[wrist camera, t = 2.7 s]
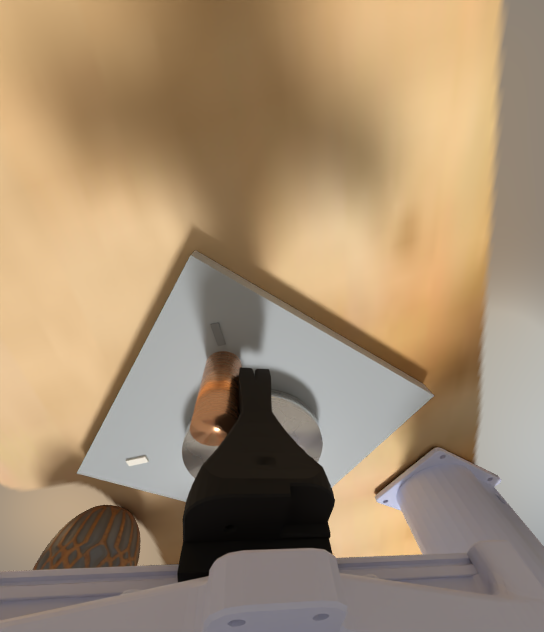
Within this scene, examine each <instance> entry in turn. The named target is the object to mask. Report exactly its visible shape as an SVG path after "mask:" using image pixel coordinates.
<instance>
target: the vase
mask: <svg viewBox="0 0 544 632" xmlns="http://www.w3.org/2000/svg"><path fill="white" fill-rule="evenodd" d="M139 553H140V532H139V528H138V525H137V523H136V520H135V518H134V517H133V515H132V514H131V513H130V512H129V511H128V510H126V509H124V508H121V507H118V506H113V505H101V506H96V507H93V508H91V509H89V510H87V511H85V512H83V513H81V514H79V515H78V516H76V517H75V518H74V519H72V520H71V521H70V522H68V523H67V524H66V525H65V526H64V527H63V528H62V529H61V530H60V531H59V532H58V534H57V535H56V536H55V537H54V538H53V539H52V540H51V542H50V543H49V544H48V545H47V547H46V548H45V550H44V551H43V553H42V555H41V556H40V558H39V559H38V561H37V563H36V564H35V566H34V568H33V570H49V569H74V568H99V567H124V566H137V563H138V559H139Z"/></svg>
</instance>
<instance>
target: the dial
mask: <svg viewBox="0 0 544 632" xmlns="http://www.w3.org/2000/svg"><path fill="white" fill-rule="evenodd" d="M240 368H242V365H241V361H240V359H239V358H238V357H237V356H236V355H235V354H233V353H231V352H227V351H219V352H216V353H213V354H212V355H211V356H209V358H208V359H207V361H206V364H205V368H204V372H203V376H202V380H201V384H200V388H199V392H198V396H197V400H196V404H195V408H194V412H193V416H192V418H191V420H190V421H189V423H188V426H187V430H186V433H185V437H184V441H183V445H182V458H183V462H184V465H185V467H186V469H187V470H188V471H189V473H190V474H191V475H192V476H193V477H194V478H196V476H197V474H198V472H199V470H200V468H201V466H202V465H203V464H204V462H205V461H206V460H207V459H208V458H209V457H210V456H211V455H212V454H213V453H214V451H215V450H216V449H217V448H218V446H219V445H220V444H221V443H222V441H223V440H224V439H225V437H226V436H227V435H228V433H229V432H230V430H231V429H232V427H233V426H234V424H235V422H236V421H237V419H238V417H239V393H238V384H239V370H240ZM271 401H272V412H273V414H274V415H275V417H276V418H277V420H278V421H279V422H280V424H281V425H282V426H283V428H284V429H285V430H286V431H287V433H288V434H289V435H290V436H291V437H292V438H293V439H294V441H295V442H296V443H297V444H298V445H299V446H300V447H301V448H302V449H303V450H304V451H305V452H306V453H307V454H308V455H309V456H310V457H312V458H313V459H314V460H315V461H316V462H318V461H319V458H320V456H321V453H322V448H323V441H322V435H321V432H320V429H319V426H318V422H317V419H316V417H315V415H314V413H313V411H312V410H311V409H310V408H309V406H308V405H306V404H305V403H304V402H303V401H302V400H300V399H299V398H297V397H295V396H293V395H292V394H289V393H287V392H284V391H281V390H277V389H272V388H271Z"/></svg>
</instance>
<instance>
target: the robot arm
mask: <svg viewBox="0 0 544 632" xmlns="http://www.w3.org/2000/svg"><path fill="white" fill-rule="evenodd" d="M238 393H239V417H238V419H237V421H236V422H235V424H234V426H233V427H232V429H231V430H230V432H229V433H228V435H227V436H226V437H225V439H224V440H223V441H222V443H221V444H220V445H219V446H218V448H217V449H216V450H215V451H214V453H213V454H212V455H211V456H210V457H209V458H208V459H207V460H206V461H205V462H204V464H203V465H202V466H201V468H200V470H199V472H198V474H197V476H196V478H195V480H194V482H193V484H192V486H191V489H190V491H189V494H188V497H187V500H186V505H185V510H184V515H183V546H182V551H181V556H180V561H179V564H174V565H150V566H124V567H99V568H74V569H49V570H24V571H0V632H544V546H543V545H542V544H541V543H540V542H539V540H538V539H537V538H536V537H535V535H534V534H533V533H532V532H531V531H530V530H529V528H528V527H527V526H526V525H525V523H524V522H523V521H522V520H521V519H520V517H519V516H518V515H517V514H516V513H515V511H514V510H513V509H512V508H511V507H510V506H509V504H508V503H507V502H506V501H505V500H504V498H503V497H502V496H501V495H500V494H499V492H498V491H497V490H496V489H495V488H494V486H496V485H497V484H499V483H500V482H501V479H500V478H499V477H498V476H497V475H495V474H493V473H491V472H489V471H487V470H485V469H483V468H481V467H479V466H477V465H475V464H473V463H471V462H469V461H467V460H465V459H463V458H460V457H458V456H456V455H454V454H452V453H450V452H448V451H446V450H444V449H442V448H439V447H436V448H434V449H432V450H431V451H430V452H428V453H427V454H426V455H425V456H423V457H422V458H421V459H420V460H418V461H417V462H416V463H415V464H413V465H412V466H411V467H410V468H409V469H407V470H406V471H405V472H404V473H402V474H401V475H400V476H399V477H397V478H396V479H395V480H394V481H392V482H391V483H390V484H389V485H387V486H386V487H385V488H384V489H383V490H381V491H380V492H379V493H378V494H376V495H375V499H376V501H377V502H378V503H381V504H384V505H387V506H390V507H392V508H395V509H398V510H401V511H402V513H403V515H404V517H405V519H406V521H407V523H408V525H409V527H410V529H411V532H412V534H413V536H414V538H415V540H416V542H417V544H418V546H419V548H420V550H421V552H422V554H423V555H399V556H374V557H349V558H336V557H335V556H334V555H332V550H331V546H330V542H329V538H330V530H329V525H328V520H329V517H330V515H331V512H332V510H333V507H334V502H335V499H334V495H333V491H332V488H331V485H330V483H329V480H328V478H327V475H326V473H325V471H324V469H323V467H322V466H321V465H320V464H319V463H317V462H316V461H315V460H314V459H313V458H312V457H310V456H309V455H308V454H307V453H306V452H305V451H304V450H303V449H302V448H301V447H300V446H299V445H298V444H297V443H296V442H295V441H294V439H293V438H292V437H291V436H290V435H289V434H288V433H287V431H286V430H285V429H284V428H283V426H282V425H281V424H280V422H279V421H278V420H277V418H276V417H275V415H274V414H273V412H272V401H271V375H270V371H269V369H256V370H255V375H254V371H253V369H252V368H240V370H239V384H238Z"/></svg>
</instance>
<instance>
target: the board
mask: <svg viewBox="0 0 544 632" xmlns="http://www.w3.org/2000/svg"><path fill="white" fill-rule="evenodd" d="M219 351H227V352H231V353H233V354H235V355H236V356H237V357H238V358H239V359H240V361H241V365H242V368H252V369H253V371H254V375H255V370H256V369H269V371H270V375H271V388H272V389H277V390H281V391H284V392H287V393H289V394H292V395H293V396H295V397H297V398H299V399H300V400H302V401H303V402H304V403H305V404H306V405H308V406H309V408H310V409H311V410H312V411H313V413H314V415H315V417H316V419H317V422H318V426H319V429H320V432H321V435H322V441H323V448H322V453H321V456H320V458H319V461H318V462H317V463H319V464H320V465H321V466H322V467H323V469H324V471H325V473H326V475H327V478H328V480H329V483H330V485H331V488H332V487H333V486H334V485H335V484H336V483H337V482H338V481H340V480H341V479H342V478H343V477H344V476H345V475H346V474H347V473H348V472H350V471H351V470H352V469H353V468H354V467H355V466H356V465H357V464H359V463H360V462H361V461H362V460H363V459H364V458H365V457H366V456H367V455H369V454H370V453H371V452H372V451H373V450H374V449H375V448H376V447H378V446H379V445H380V444H381V443H382V442H383V441H384V440H385V439H386V438H388V437H389V436H390V435H391V434H392V433H393V432H394V431H395V430H397V429H398V428H399V427H400V426H401V425H402V424H403V423H404V422H405V421H407V420H408V419H409V418H410V417H411V416H412V415H413V414H414V413H416V412H417V411H418V410H419V409H420V408H421V407H422V406H423V405H425V404H426V403H427V402H428V401H429V400H430V399H431V398H432V397H433V396H434V395H433V394H432V393H431V392H430V391H429V389H428V388H427V387H426V386H425V385H424V384H423V383H421V382H419V381H418V380H416V379H414V378H412V377H411V376H409V375H407V374H406V373H404V372H402V371H401V370H399V369H397V368H395V367H394V366H392V365H390V364H389V363H387V362H385V361H383V360H382V359H380V358H378V357H377V356H375V355H373V354H372V353H370V352H368V351H366V350H365V349H363V348H361V347H360V346H358V345H356V344H355V343H353V342H351V341H349V340H348V339H346V338H344V337H343V336H341V335H339V334H337V333H336V332H334V331H332V330H331V329H329V328H327V327H326V326H324V325H322V324H320V323H319V322H317V321H315V320H314V319H312V318H310V317H309V316H307V315H305V314H303V313H302V312H300V311H298V310H297V309H295V308H293V307H292V306H290V305H288V304H286V303H285V302H283V301H281V300H280V299H278V298H276V297H274V296H273V295H271V294H269V293H268V292H266V291H264V290H263V289H261V288H259V287H257V286H256V285H254V284H252V283H251V282H249V281H247V280H246V279H244V278H242V277H240V276H239V275H237V274H235V273H234V272H232V271H230V270H228V269H227V268H225V267H223V266H222V265H220V264H218V263H217V262H215V261H213V260H211V259H210V258H208V257H206V256H205V255H203V254H201V253H200V252H198V251H196V250H195V251H194V252H193V253H192V254H191V255H190V257H189V259H188V261H187V263H186V265H185V267H184V269H183V271H182V273H181V274H180V276H179V278H178V280H177V282H176V284H175V286H174V288H173V290H172V292H171V294H170V296H169V297H168V299H167V301H166V303H165V305H164V307H163V309H162V311H161V313H160V315H159V317H158V319H157V320H156V322H155V324H154V326H153V328H152V330H151V332H150V334H149V336H148V338H147V340H146V342H145V343H144V345H143V347H142V349H141V351H140V353H139V355H138V357H137V359H136V361H135V363H134V365H133V366H132V368H131V370H130V372H129V374H128V376H127V378H126V380H125V382H124V384H123V386H122V388H121V389H120V391H119V393H118V395H117V397H116V399H115V401H114V403H113V405H112V407H111V409H110V410H109V412H108V414H107V416H106V418H105V420H104V422H103V424H102V426H101V428H100V430H99V432H98V433H97V435H96V437H95V439H94V441H93V443H92V445H91V447H90V449H89V451H88V453H87V455H86V456H85V458H84V460H83V462H82V464H81V466H80V468H79V470H78V472H77V474H81V475H85V476H88V477H92V478H96V479H100V480H104V481H108V482H111V483H115V484H119V485H123V486H127V487H131V488H134V489H138V490H142V491H146V492H150V493H154V494H157V495H161V496H165V497H169V498H173V499H177V500H180V501H184V502H186V500H187V497H188V494H189V491H190V489H191V486H192V484H193V482H194V480H195V478H194V477H193V476H192V475H191V474H190V473H189V471H188V470H187V469H186V467H185V465H184V462H183V458H182V445H183V441H184V437H185V433H186V430H187V426H188V423H189V421H190V420H191V418H192V416H193V412H194V408H195V404H196V400H197V396H198V392H199V388H200V384H201V380H202V376H203V372H204V368H205V364H206V361H207V359H208V358H209V356H211V355H212V354H213V353H216V352H219Z"/></svg>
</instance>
